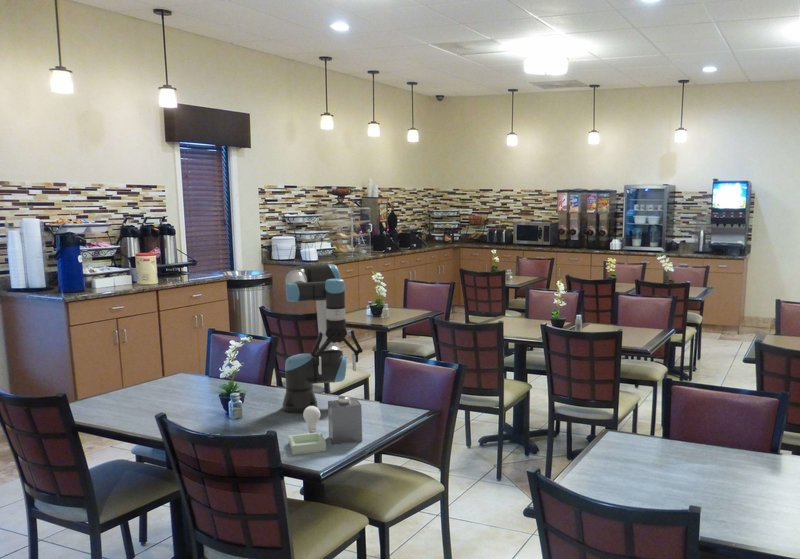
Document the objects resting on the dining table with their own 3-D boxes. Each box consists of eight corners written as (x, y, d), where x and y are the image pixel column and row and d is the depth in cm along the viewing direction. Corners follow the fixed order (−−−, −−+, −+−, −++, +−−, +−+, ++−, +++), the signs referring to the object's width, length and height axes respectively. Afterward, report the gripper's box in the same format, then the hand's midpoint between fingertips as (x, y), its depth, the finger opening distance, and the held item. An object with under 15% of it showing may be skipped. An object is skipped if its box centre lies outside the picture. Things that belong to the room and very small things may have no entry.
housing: (328, 436, 261) (327, 395, 260) (356, 433, 264) (355, 393, 263) (333, 444, 252) (331, 402, 251) (362, 441, 255) (361, 399, 254)
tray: (288, 443, 254) (288, 435, 254) (320, 440, 258) (320, 432, 257) (292, 454, 243) (292, 446, 243) (326, 450, 246) (326, 442, 246)
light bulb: (317, 437, 261) (317, 409, 260) (301, 436, 262) (300, 408, 261) (323, 431, 267) (322, 404, 266) (307, 430, 269) (306, 403, 268)
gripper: (305, 322, 259) (306, 377, 262) (369, 318, 266) (370, 371, 268) (302, 319, 266) (304, 372, 269) (365, 315, 273) (366, 367, 276)
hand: (337, 372), depth 269 cm, fingers open, 13 cm apart
